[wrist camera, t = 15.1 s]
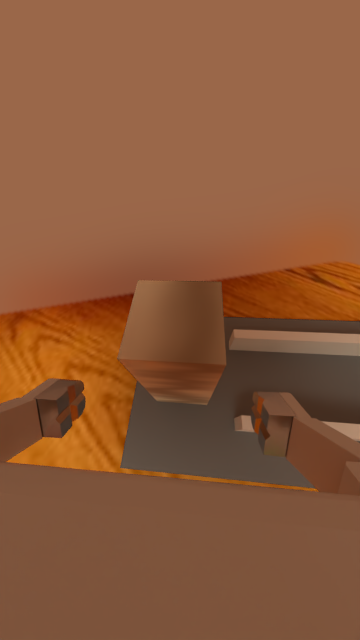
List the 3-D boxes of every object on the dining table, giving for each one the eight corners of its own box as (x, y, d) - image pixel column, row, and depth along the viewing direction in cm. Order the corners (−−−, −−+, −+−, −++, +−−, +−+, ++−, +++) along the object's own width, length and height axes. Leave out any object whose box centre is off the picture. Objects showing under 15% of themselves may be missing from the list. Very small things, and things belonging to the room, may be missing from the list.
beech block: (157, 401, 19) (117, 358, 9) (163, 354, 21) (137, 280, 11) (207, 404, 18) (226, 364, 8) (206, 356, 21) (221, 281, 11)
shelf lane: (122, 467, 16) (95, 478, 12) (150, 316, 25) (141, 288, 20) (478, 504, 14) (618, 536, 10) (376, 324, 23) (424, 295, 18)
